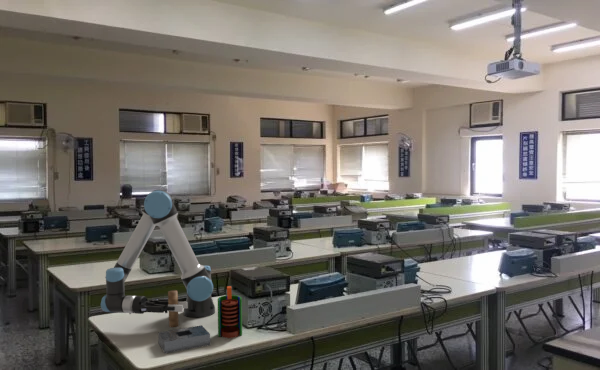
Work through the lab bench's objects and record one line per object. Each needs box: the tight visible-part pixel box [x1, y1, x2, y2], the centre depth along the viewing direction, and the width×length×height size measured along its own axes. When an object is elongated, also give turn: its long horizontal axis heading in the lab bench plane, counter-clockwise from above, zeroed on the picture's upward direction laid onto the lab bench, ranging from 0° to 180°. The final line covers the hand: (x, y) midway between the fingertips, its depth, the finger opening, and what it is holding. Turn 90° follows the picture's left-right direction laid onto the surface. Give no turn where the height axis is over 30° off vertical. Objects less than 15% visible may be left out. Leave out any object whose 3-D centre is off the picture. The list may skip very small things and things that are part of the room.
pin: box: [167, 289, 180, 328], centre depth 209 cm, size 4×4×15 cm
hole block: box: [157, 324, 211, 354], centre depth 195 cm, size 18×12×4 cm, turn 117°
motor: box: [217, 285, 243, 339], centre depth 206 cm, size 10×9×20 cm
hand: (184, 306), depth 208 cm, fingers closed on pin, 4 cm apart
